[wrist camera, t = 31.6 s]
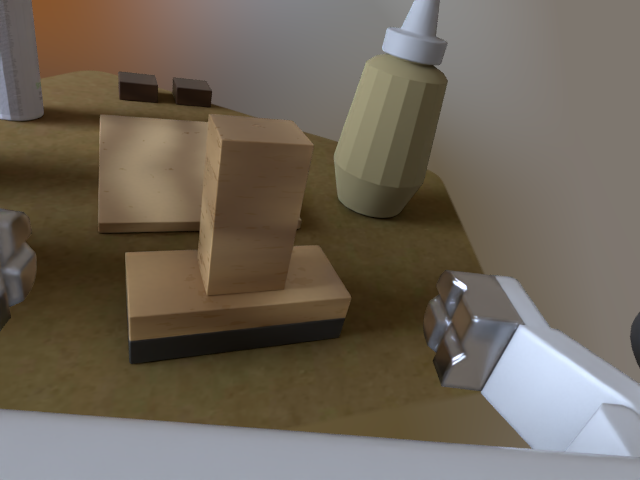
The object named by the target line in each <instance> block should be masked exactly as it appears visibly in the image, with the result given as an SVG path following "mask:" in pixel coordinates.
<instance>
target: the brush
mask: <svg viewBox="0 0 640 480" xmlns="http://www.w3.org/2000/svg"><path fill="white" fill-rule="evenodd" d="M313 148H314V145H313V144H312V142H311V141H310V140H309V139H308V138H307V137H306V135H305V134H304V133H303V132H302V131H301V130H300V128H299V127H298V126H297V125H296V124H295V123H294V122H293V121H290V120H278V119H277V120H276V119H265V118H253V117H240V116H228V115H215V114H209V118H208V130H207V143H206V156H205V169H204V181H203V194H202V207H201V219H200V232H199V245H198V250H175V251H148V252H126V253H125V267H126V304H127V323H128V342H129V361H130V364H135V363H142V362H150V361H158V360H166V359H174V358H181V357H189V356H197V355H205V354H213V353H221V352H228V351H236V350H244V349H252V348H260V347H268V346H275V345H283V344H291V343H299V342H307V341H314V340H322V339H330V338H338V337H339V336H340V333H341V330H342V326H343V323H344V320H345V317H346V314H347V311H348V307H349V304H350V301H351V296H350V294H349V292H348V291H347V289H346V288H345V286H344V284H343V283H342V281H341V280H340V278H339V276H338V275H337V273H336V272H335V270H334V268H333V267H332V265H331V264H330V262H329V260H328V259H327V257H326V256H325V254H324V252H323V251H322V249H321V248H320V246H319V245H311V246H293V245H294V240H295V235H296V230H297V226H298V221H299V216H300V211H301V206H302V201H303V197H304V192H305V187H306V182H307V177H308V172H309V168H310V163H311V158H312V153H313Z"/></svg>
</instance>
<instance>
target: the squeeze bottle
mask: <svg viewBox="0 0 640 480" xmlns="http://www.w3.org/2000/svg"><path fill="white" fill-rule="evenodd" d="M439 3H440V0H415V1H414V3H413V5H412V7H411V9H410V11H409V13H408V15H407V17H406V19H405V21H404V23H403V25H402V27H401V28H395V27H390V28H388V29H387V31H386V35H385V39H384V43H383V46H382V50H383V51H385V52H386V53H388V54H382V55H377V56H375V57H373V58H371V59H370V60H368V61H366V64H365V67H364V70H363V73H362V76H361V78H360V82H359V84H358V87H357V90H356V94H355V96H354V99H353V102H352V104H351V108H350V110H349V113H348V116H347V119H346V122H345V125H344V128H343V130H342V133H341V136H340V139H339V142H338V145H337V148H336V151H335V153H334V163H335V174H336V184H337V194H338V198H339V200H340V201H341V202H342V203H343V204H344V205H345V206H346V207H348V208H350V209H352V210H353V211H355V212H358V213H361V214H364V215H367V216H371V217H378V218H387V217H393V216H395V215H397V214H399V213H400V212H401V210H402V209H403V208H404V207H405V205H406V204H407V203H408V202H409V200H410V199H411V198H412V196H413V195H414V194H415V193H416V191H417V190H418V189H419V188H420V186H421V185H422V184H423V181H424V178H425V174H426V170H427V165H428V161H429V157H430V153H431V148H432V145H433V140H434V136H435V132H436V128H437V123H438V120H439V115H440V111H441V107H442V103H443V99H444V95H445V90H446V86H447V82H448V80H447V79H446V77H445V75H444V73H442V72H441V71H440V70H438V69H437V68H436V67H435V66H433V65H440V64H441V62H442V59H443V56H444V53H445V50H446V47H447V42H446V41H444V40H442V39H440V38H438V37H436V30H437V22H438V21H437V20H438V12H439Z"/></svg>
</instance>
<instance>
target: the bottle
mask: <svg viewBox="0 0 640 480" xmlns="http://www.w3.org/2000/svg"><path fill="white" fill-rule="evenodd" d="M43 114H44V108H43V100H42V91H41V82H40V73H39V65H38V55H37V46H36V38H35V29H34V20H33V12H32V2H31V0H0V119H5V120H14V121H24V120H32V119H37V118H39V117H41V116H42V115H43Z"/></svg>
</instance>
